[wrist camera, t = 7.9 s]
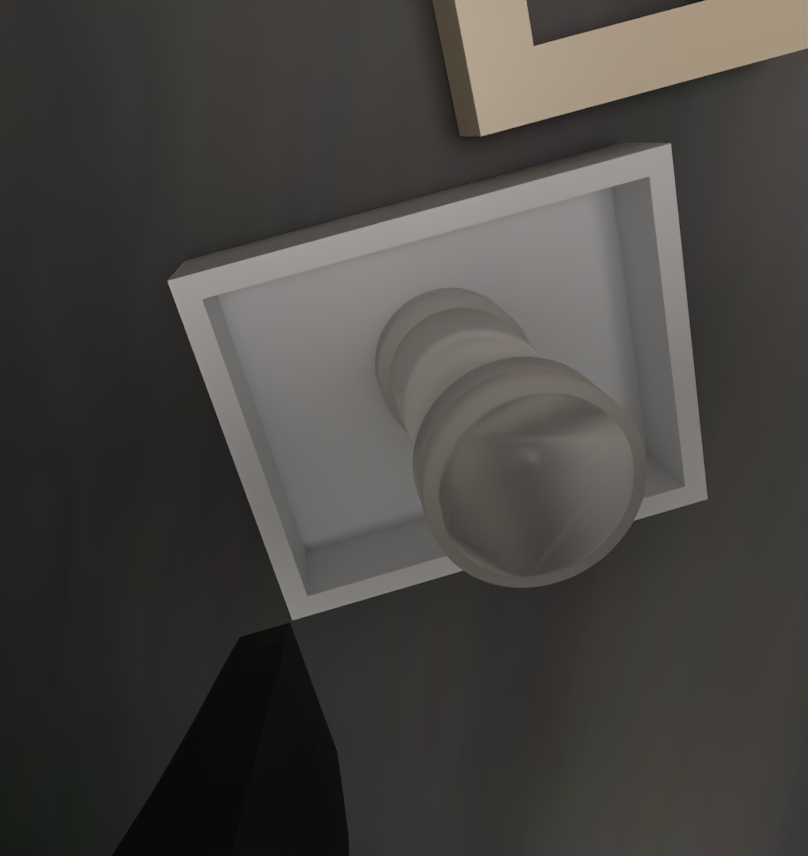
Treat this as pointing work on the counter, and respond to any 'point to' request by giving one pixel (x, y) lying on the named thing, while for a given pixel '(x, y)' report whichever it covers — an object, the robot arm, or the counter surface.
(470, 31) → the socket block
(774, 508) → the counter surface
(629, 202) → the tray
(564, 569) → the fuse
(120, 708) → the counter surface
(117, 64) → the counter surface
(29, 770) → the counter surface
